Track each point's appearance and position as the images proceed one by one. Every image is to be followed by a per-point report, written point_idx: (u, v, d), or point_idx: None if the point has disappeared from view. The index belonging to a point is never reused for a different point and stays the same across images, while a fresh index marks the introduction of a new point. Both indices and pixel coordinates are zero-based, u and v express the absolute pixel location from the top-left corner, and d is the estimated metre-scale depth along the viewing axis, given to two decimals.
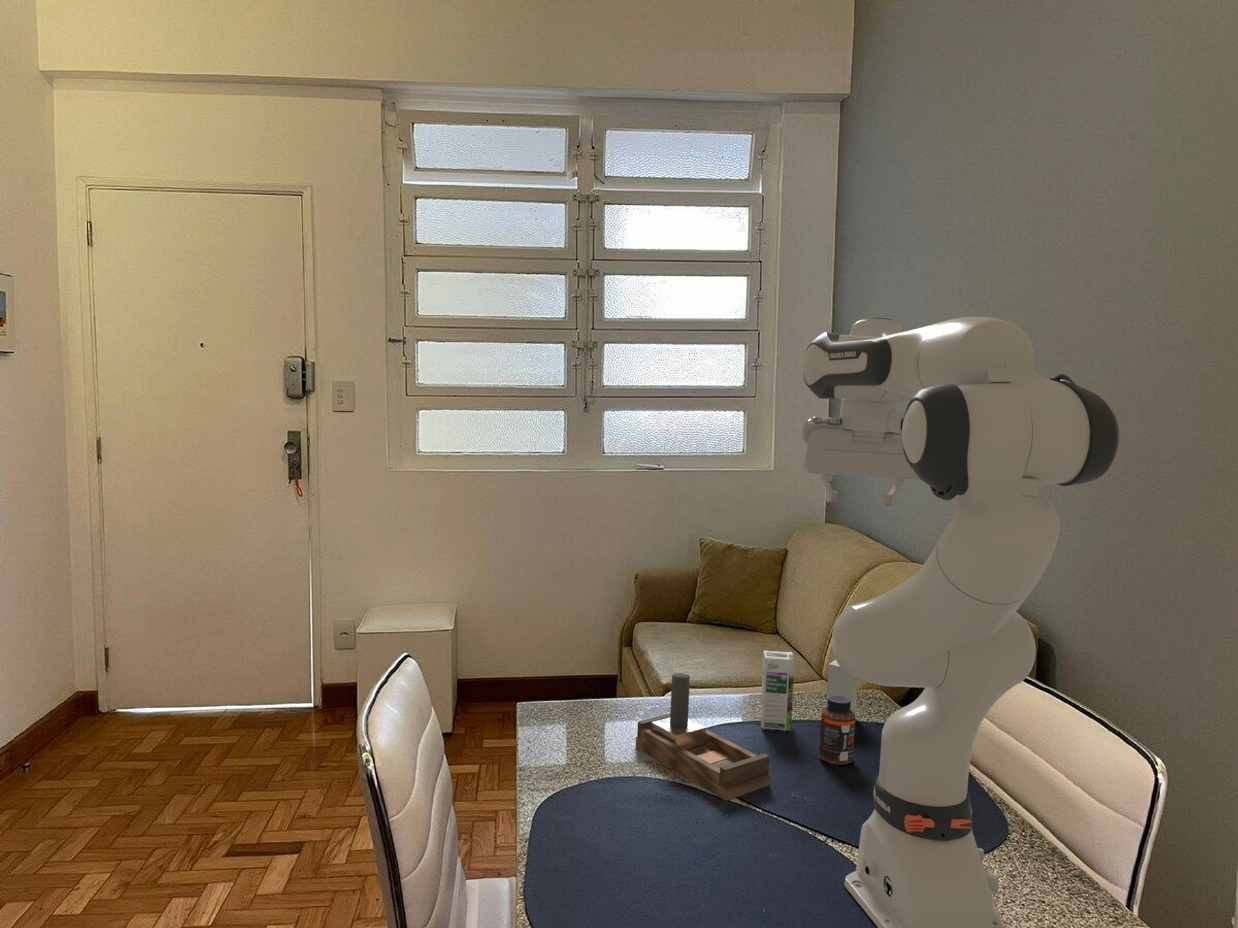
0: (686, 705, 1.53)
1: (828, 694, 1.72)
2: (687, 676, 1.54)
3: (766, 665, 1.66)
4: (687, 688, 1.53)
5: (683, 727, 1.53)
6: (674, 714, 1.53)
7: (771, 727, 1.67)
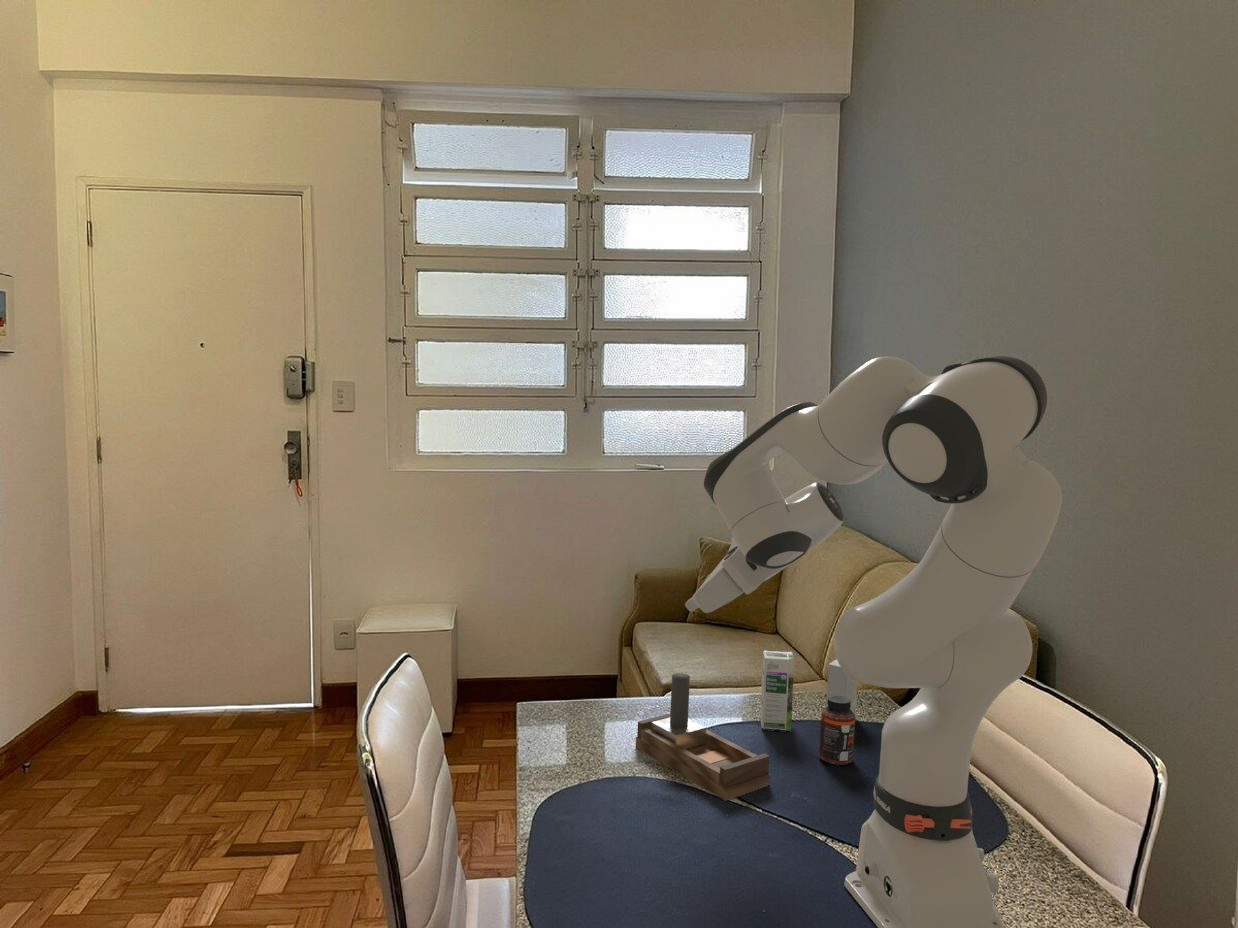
0: (686, 705, 1.53)
1: (828, 694, 1.72)
2: (687, 676, 1.54)
3: (766, 665, 1.66)
4: (687, 688, 1.53)
5: (683, 727, 1.53)
6: (674, 714, 1.53)
7: (771, 727, 1.67)
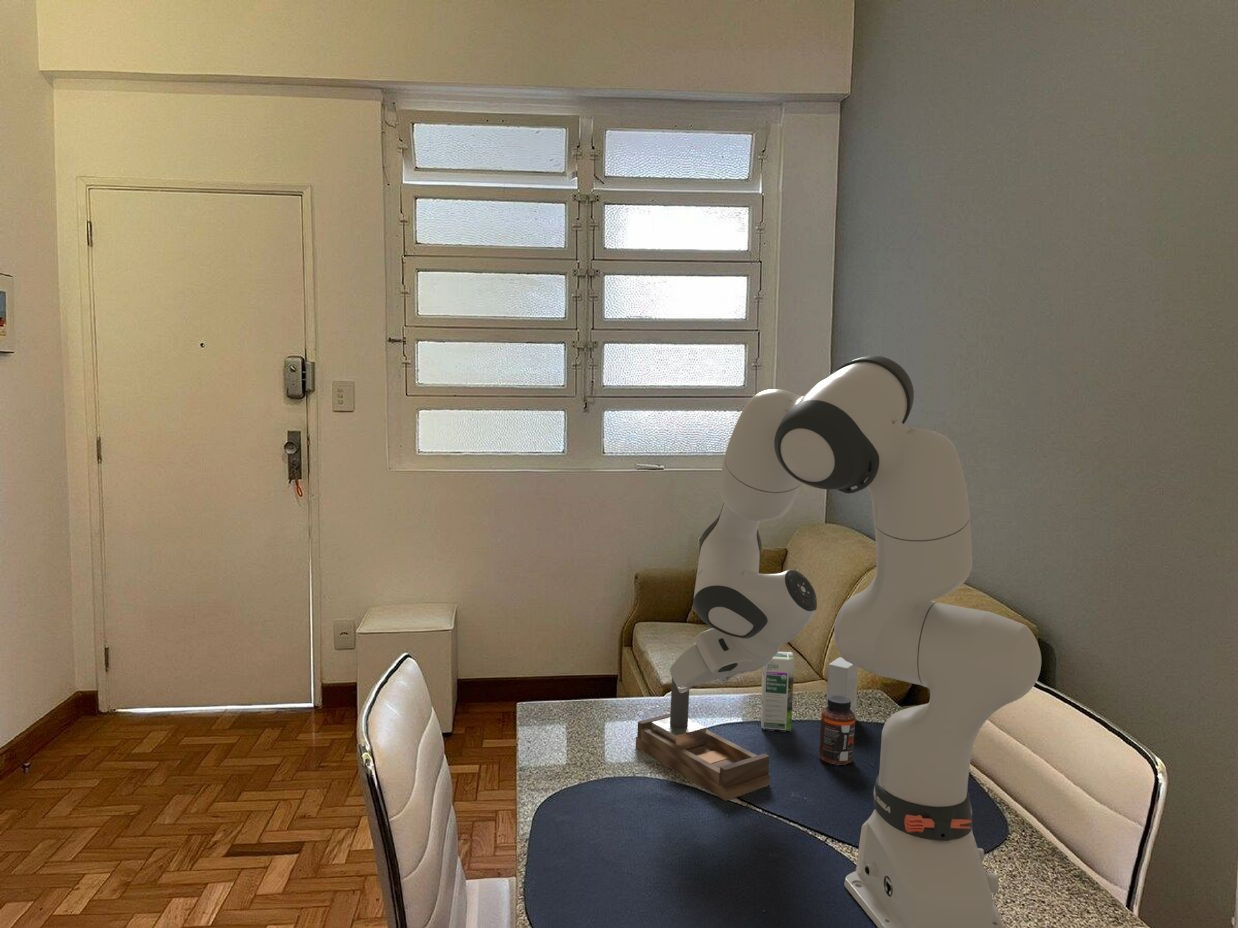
0: (686, 705, 1.53)
1: (828, 694, 1.72)
2: None
3: (766, 665, 1.66)
4: None
5: (683, 727, 1.53)
6: (674, 714, 1.53)
7: (771, 727, 1.67)
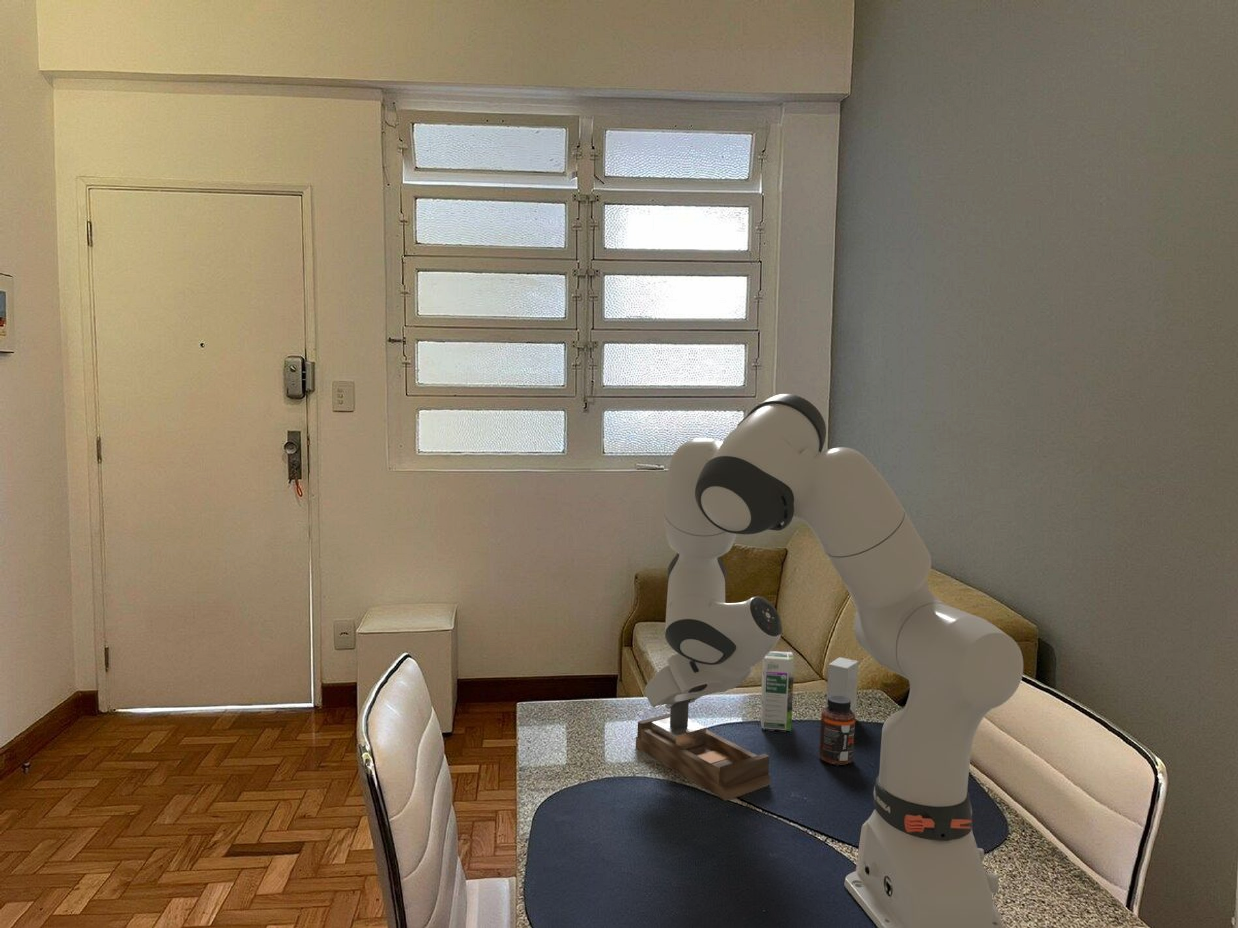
0: (686, 705, 1.53)
1: (828, 694, 1.72)
2: None
3: (766, 665, 1.66)
4: None
5: (683, 727, 1.53)
6: (674, 714, 1.53)
7: (771, 727, 1.67)
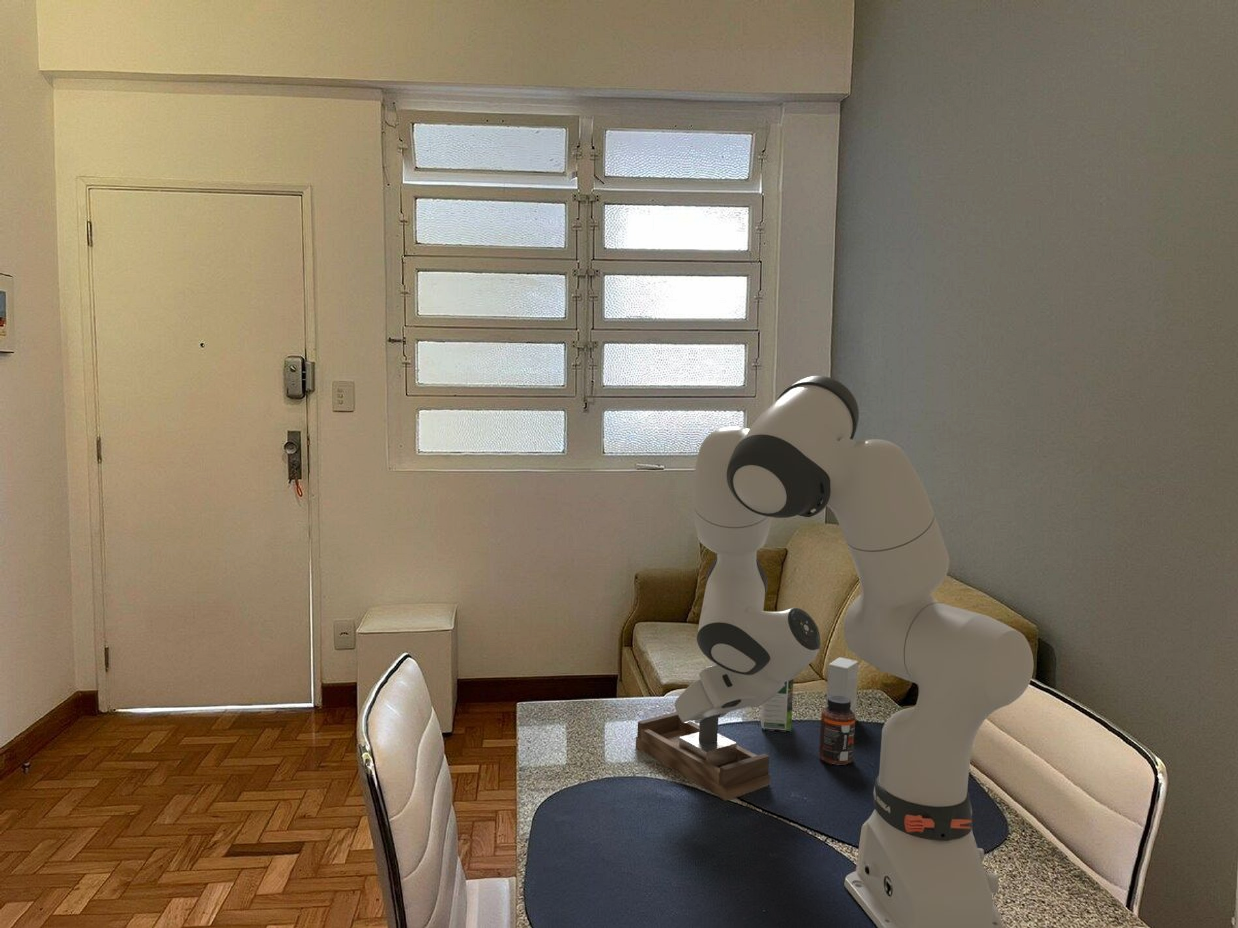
0: (716, 720, 1.47)
1: (828, 694, 1.72)
2: None
3: None
4: None
5: (713, 743, 1.47)
6: (703, 730, 1.47)
7: (771, 727, 1.67)
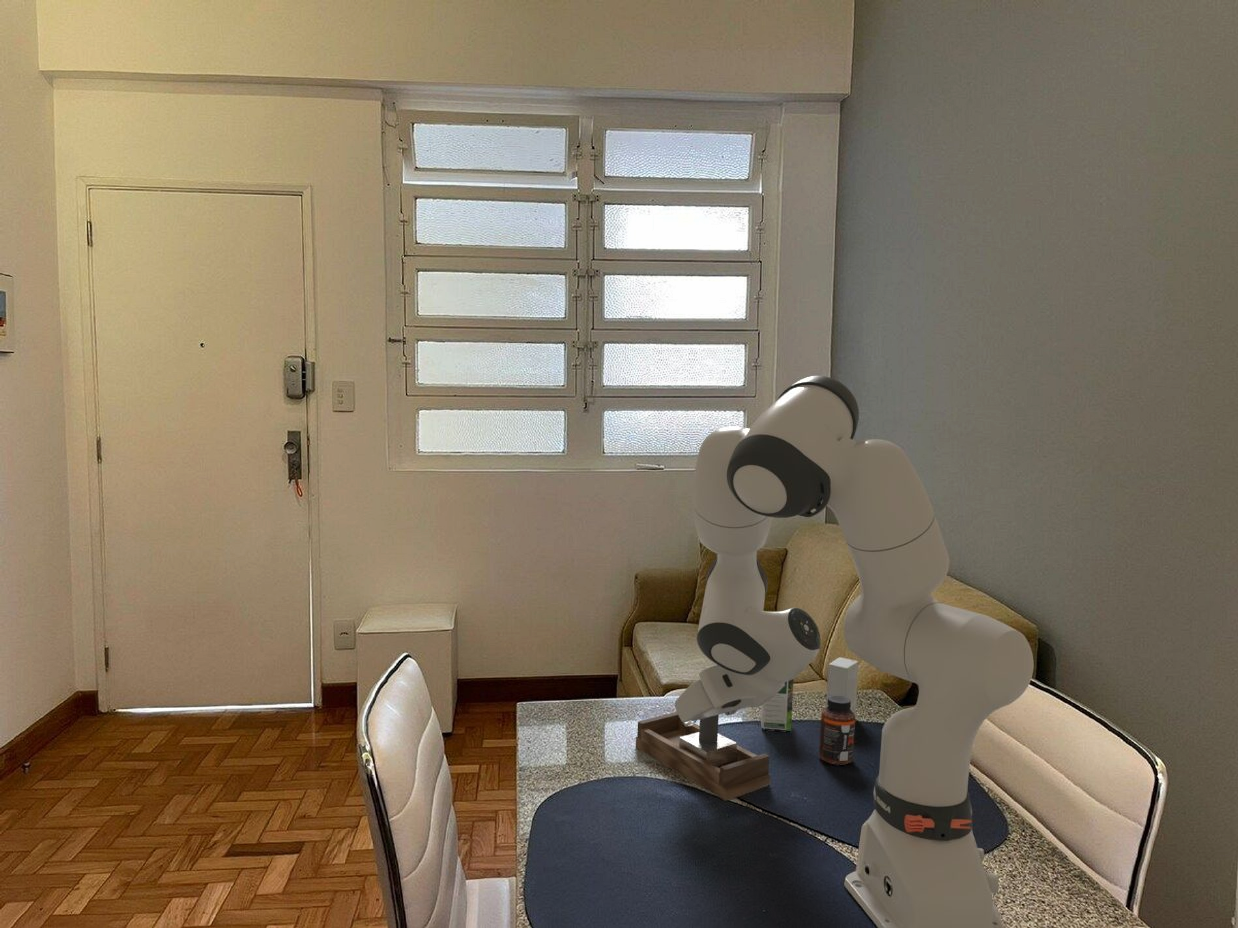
0: (716, 720, 1.47)
1: (828, 694, 1.72)
2: None
3: None
4: None
5: (713, 743, 1.47)
6: (703, 730, 1.47)
7: (771, 727, 1.67)
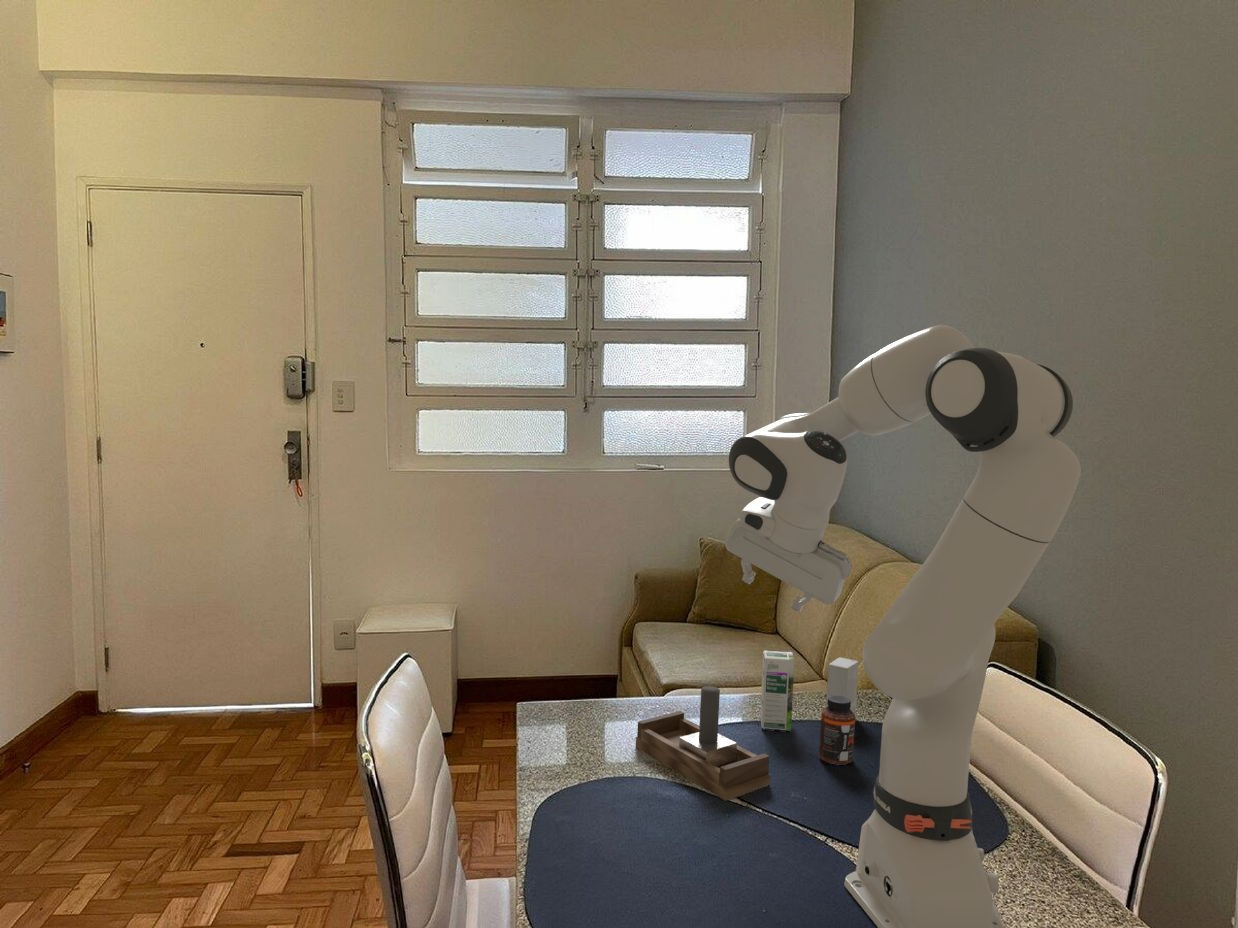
0: (716, 720, 1.47)
1: (828, 694, 1.72)
2: (717, 690, 1.47)
3: (766, 665, 1.66)
4: (717, 702, 1.47)
5: (713, 743, 1.47)
6: (703, 730, 1.47)
7: (771, 727, 1.67)
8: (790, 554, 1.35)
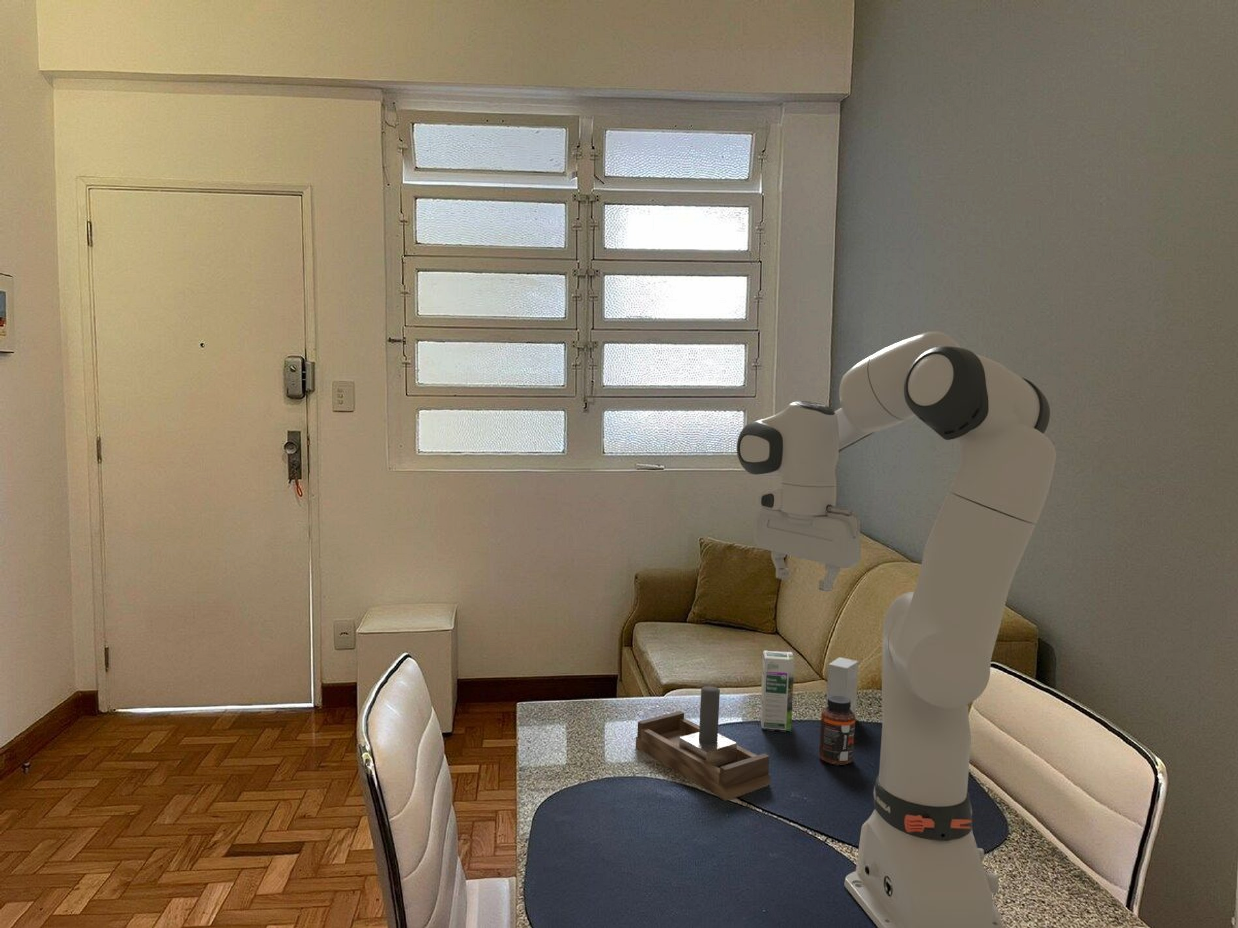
0: (716, 720, 1.47)
1: (828, 694, 1.72)
2: (717, 690, 1.47)
3: (766, 665, 1.66)
4: (717, 702, 1.47)
5: (713, 743, 1.47)
6: (703, 730, 1.47)
7: (771, 727, 1.67)
8: (801, 522, 1.38)
